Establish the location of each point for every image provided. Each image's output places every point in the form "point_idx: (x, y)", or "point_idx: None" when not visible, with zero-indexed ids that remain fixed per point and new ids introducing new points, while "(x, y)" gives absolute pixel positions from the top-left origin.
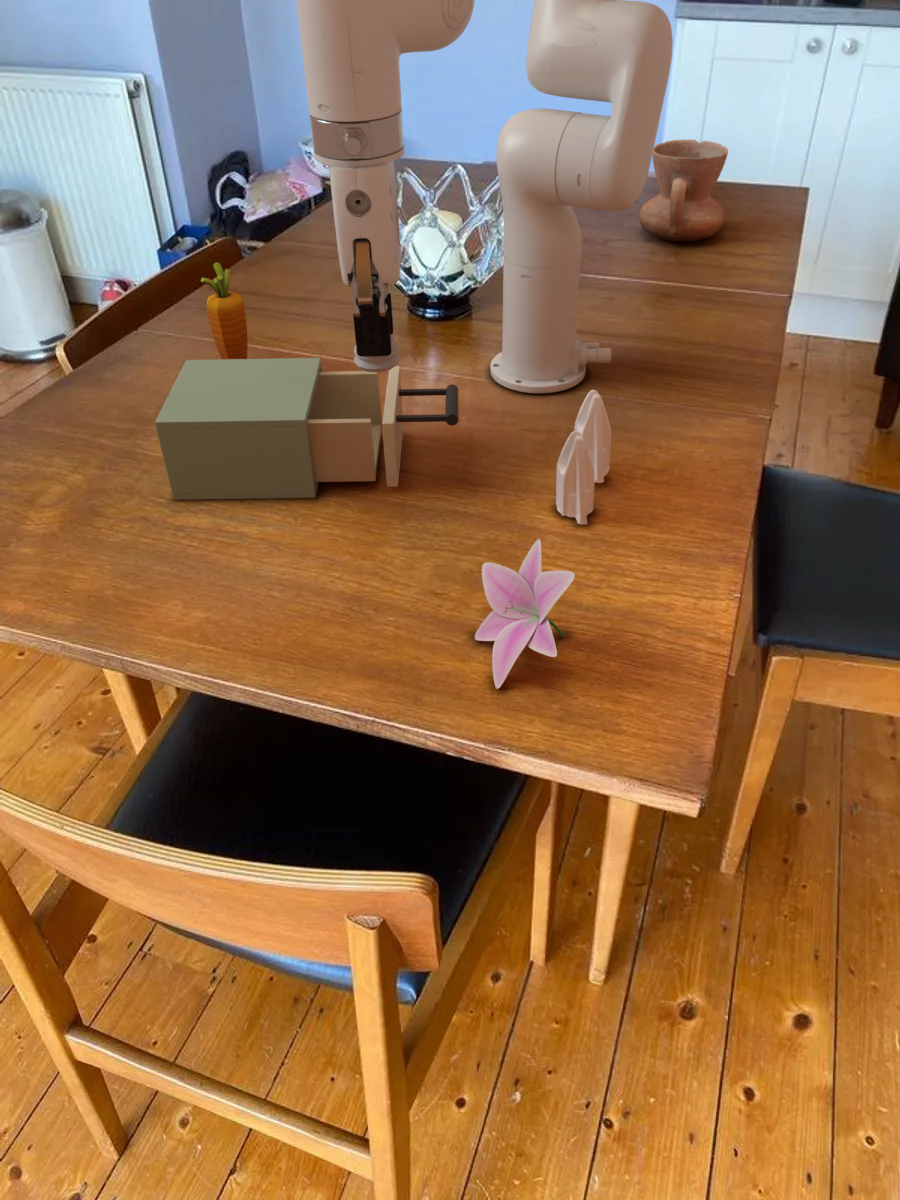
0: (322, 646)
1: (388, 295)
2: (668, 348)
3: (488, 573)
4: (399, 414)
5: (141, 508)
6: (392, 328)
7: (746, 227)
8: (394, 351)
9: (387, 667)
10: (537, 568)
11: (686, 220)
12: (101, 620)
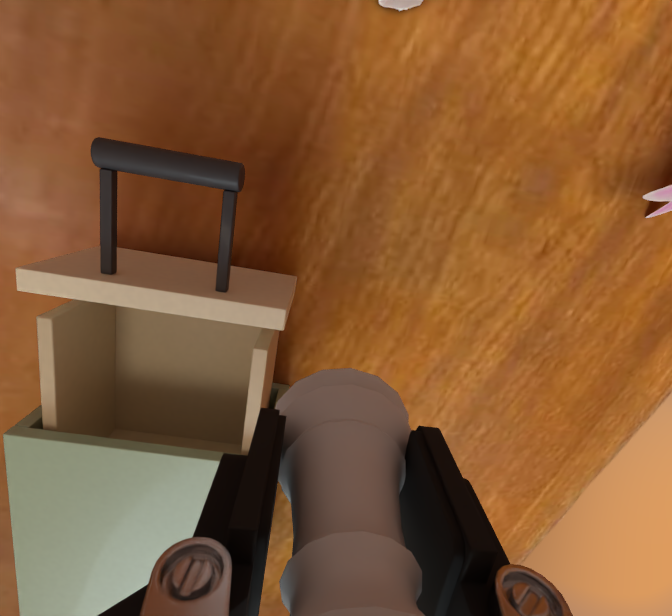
0: (587, 388)
1: (255, 537)
2: None
3: (666, 191)
4: (149, 269)
5: (278, 563)
6: (277, 420)
7: None
8: (386, 405)
9: (648, 325)
10: None
11: None
12: None
